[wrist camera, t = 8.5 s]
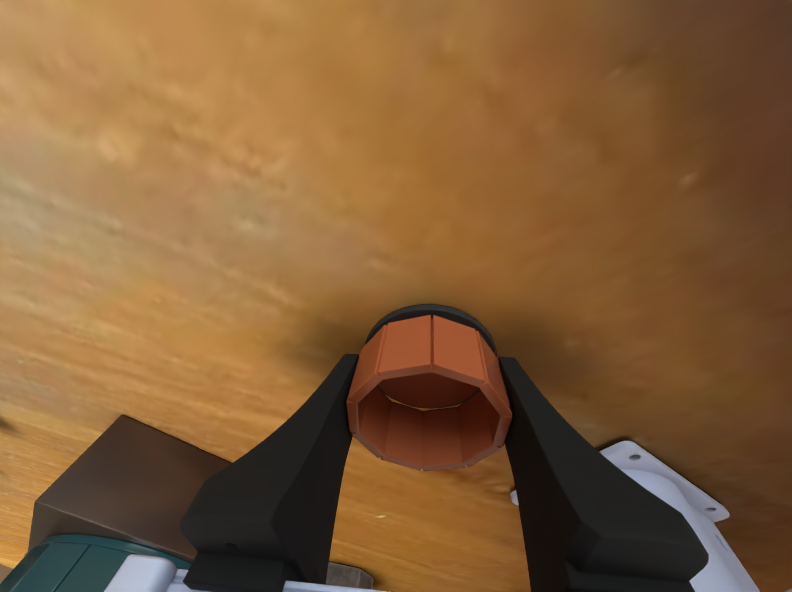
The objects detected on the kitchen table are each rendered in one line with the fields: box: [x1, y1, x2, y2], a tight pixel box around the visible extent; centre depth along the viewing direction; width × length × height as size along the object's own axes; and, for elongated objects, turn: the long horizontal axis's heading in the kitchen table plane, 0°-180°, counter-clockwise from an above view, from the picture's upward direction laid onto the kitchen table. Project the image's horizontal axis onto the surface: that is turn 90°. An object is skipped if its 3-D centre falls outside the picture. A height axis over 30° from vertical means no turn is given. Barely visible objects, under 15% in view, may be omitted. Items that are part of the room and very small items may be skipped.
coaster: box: [365, 304, 497, 408], centre depth 14 cm, size 6×6×1 cm
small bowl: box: [346, 315, 513, 471], centre depth 13 cm, size 6×6×3 cm
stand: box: [28, 415, 231, 563], centre depth 22 cm, size 13×13×5 cm
